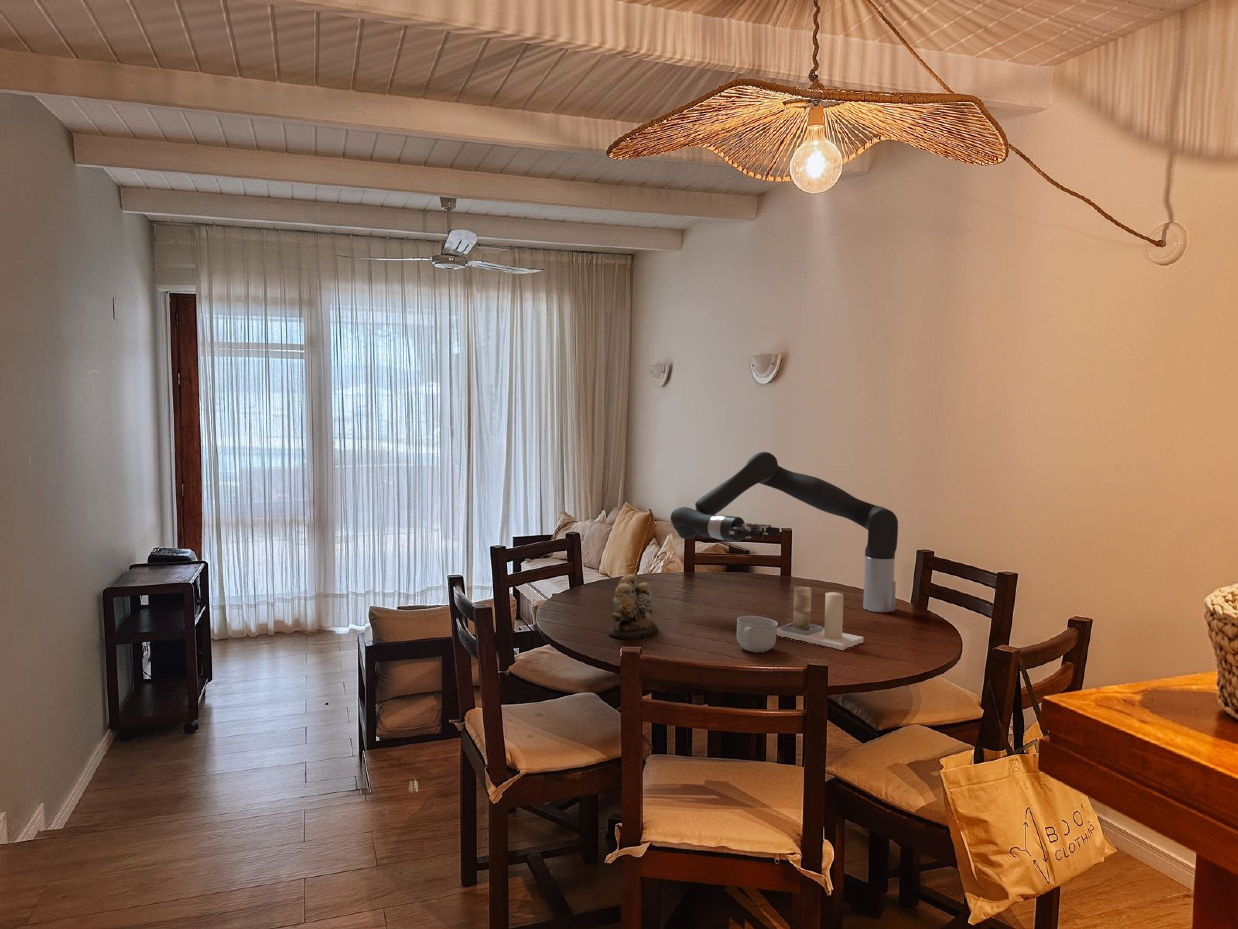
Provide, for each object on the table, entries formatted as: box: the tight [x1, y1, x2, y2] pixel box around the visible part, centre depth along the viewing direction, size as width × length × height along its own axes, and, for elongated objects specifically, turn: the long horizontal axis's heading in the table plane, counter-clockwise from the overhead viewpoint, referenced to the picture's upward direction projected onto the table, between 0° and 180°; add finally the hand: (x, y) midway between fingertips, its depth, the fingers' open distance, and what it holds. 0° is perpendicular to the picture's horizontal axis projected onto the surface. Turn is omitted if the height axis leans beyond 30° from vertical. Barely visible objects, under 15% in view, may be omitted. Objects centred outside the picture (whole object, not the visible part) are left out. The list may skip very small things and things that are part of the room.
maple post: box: [792, 586, 812, 631], centre depth 236 cm, size 5×5×12 cm
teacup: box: [736, 615, 779, 653], centre depth 220 cm, size 14×11×8 cm
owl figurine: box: [608, 573, 659, 640], centre depth 236 cm, size 18×12×17 cm, turn 145°
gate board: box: [777, 591, 864, 651], centre depth 232 cm, size 22×12×14 cm, turn 46°
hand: (771, 533), depth 242 cm, fingers open, 8 cm apart
